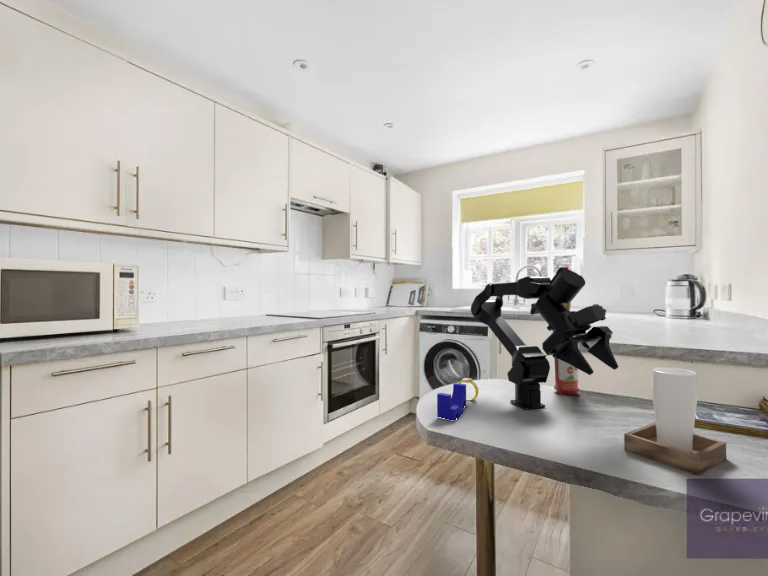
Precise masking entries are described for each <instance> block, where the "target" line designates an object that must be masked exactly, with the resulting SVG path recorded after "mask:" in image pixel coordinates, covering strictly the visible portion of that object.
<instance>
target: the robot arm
mask: <svg viewBox="0 0 768 576" xmlns="http://www.w3.org/2000/svg"><path fill="white" fill-rule="evenodd" d="M585 285H586V280H585V278H584V277H583V276H582V275H580V274H578V273H576V272H575V271H573V270H570V269H569V268H568V267H566V266H563V267H562V266H560V267H559V268H558V269H557V270H556V273H555V274H554V276H553V277H552V279H551V278H550V277H549V276H524V277H521V278H519V279H517V281H513V282H495V283H494V282H490V283H488V284H486V285H485V287H484V289H483V290H482V291H481V292H480V293H478V294H477V295H476V296H475V298H474V299H473V301H472V303H471V305H470V312H471V315H472V316H473V317H474V319H476V320H477V322H479V323H482V324H483V325H486V326H488V328H489V329H490V330H491V331H492V333H493V334H494V335H495V337H496V338H497V340H498V341H499V342H500V343H501V344H502V345H503V347H504V348H505V350H506V351H507V353H509V355H510V357H511V368H510V369H509V371H508V372H507V373H506V374H507V378H508V381H509V382H510V383H512V384H514V395H515V396H514V398H515V399H511V400H510V403H511V404H513V405H516V406H517V407H519V408H520V409H521V408H522V409H524V410H529V409H531V410H532V409H539V408H546V404H544V403H542V402H541V401H542V398H541V397H542V395H541V394H542V393H541V392H542V391H541V384H543V383H545V384H546V383H547V381H548V377H549V374H550V371H551V365H550V362H549V360H548V359H547V356H552V358H553V359H554V358H558V359H560V360H562V361H564V362H566V363H568V364H570V365H572V366H574V367H576V368H577V369H578V371H579V370H580V371H582V372H583V373H584V374H587V375H588V376H591V375H593V373H594V369H593V368H592V366H591V364H590V363H589V362H588V360H587V359H586V358H585V357H584V355H583V353H582V352H581V351H580V348H579V349H578V344H579V343H580V344H581V345H582V346H583V348H585V349H587V353H589V354H590V355H591V356H594V357H595V358H596V359H597V360H599V361H601V362H602V363H603V364H605V365H606V366H607V367H609V368H611V369H612V370H614V371H615V370H617V369H618V368H619V364H618V362H617V361H616V358H615V355H614V353H613V352H612V349H611V345H610V340H611V339H612V335H613V333H614V332H613V331H612V330H611V328H610V327H608V326H605V325H599V326H598V325H596V326H592V324H595V323H597V322H599V321H600V322H601V321H604V320H606V319H607V318H606V315H607V314H606V313H607V310H606V308H604V307H603V305H600V304H598V303H595V304H592V305H589V306H586V307H583V308H581V309H580V310H576V311H575V310H570V311H569V310H568V308H567V307H566V306H565V305H564V304H563V303H570V302H571V303H572V301H573V300H574V299H575V297H576V296H577V295H578V294H579V293H580V291H581V290H582V289H583V288H584V286H585ZM504 296H517V297H519V298H521V299H526V300H535V299H536V302H535V303H531V304H530V305H531V307H530V310H529V311H530V315H532V316H533V315H538V314H539V315H540V316H541V318H543V320H544V321H545V322H546V323H547V325H548V326H546V329H547V330H548V332H552V333H550V334H549V336H548V337H546V339H545V340H544V341H543V342H542V344H541V345H542V346H541V348H542V350H541V348H540V347H538V346H537V345H531V346H527V344H526V343H525V342H524V341H523V340H522V339H521V338H520V337H519V335H518V334H517V333H516V332H515V330H513V328H512V327H511V326H510V324H509V323H508V322H507V321H506V320H505V318H504V317H503V316H502V307H503V305H504V299H503V298H504ZM491 297H496V298H495V299H490V298H491ZM553 331H554V332H553ZM542 351H543V352H542ZM540 383H541V384H540Z"/></svg>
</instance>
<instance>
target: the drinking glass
mask: <svg viewBox="0 0 768 576" xmlns="http://www.w3.org/2000/svg"><path fill="white" fill-rule="evenodd" d="M651 372H652V373H651V392H652V393H651V394H652V402H653V403H652V404H653V411H654V413H653V414H654V420H655V423H656V433H657V443H660V444H663V445H666V446H669V447H672V448H675V449H679V450H682V451H685V452H688V453H692V451H693V433H694V432H695V423H696V420H695V419H696V414H697V413H696V412H697V402H698V379H697V378H698V377H697V373H696V372H695V371H692V370H690V369H685V368H678V367H669V366H668V367H666V366H665V367H664V366H663V367H662V366H659V367H652V371H651Z"/></svg>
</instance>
